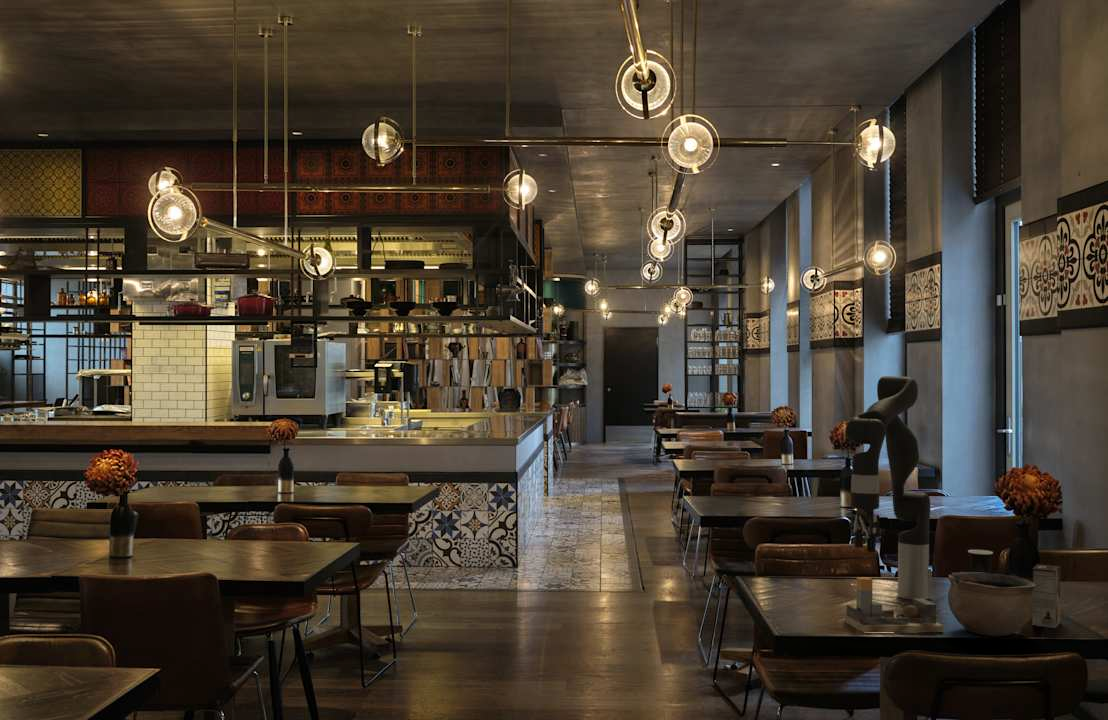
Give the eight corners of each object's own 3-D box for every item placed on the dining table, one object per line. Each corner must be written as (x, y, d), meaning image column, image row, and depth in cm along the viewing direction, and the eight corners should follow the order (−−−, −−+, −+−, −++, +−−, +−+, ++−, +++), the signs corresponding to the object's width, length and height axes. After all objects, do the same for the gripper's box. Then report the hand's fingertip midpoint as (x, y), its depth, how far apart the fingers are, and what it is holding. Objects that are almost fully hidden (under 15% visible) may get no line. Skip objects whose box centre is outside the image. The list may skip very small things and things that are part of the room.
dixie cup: (974, 586, 347) (974, 553, 348) (963, 581, 355) (963, 549, 355) (997, 586, 348) (997, 553, 348) (985, 581, 356) (985, 549, 356)
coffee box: (1036, 619, 298) (1036, 563, 298) (1060, 622, 294) (1060, 565, 295) (1031, 625, 290) (1031, 568, 290) (1056, 628, 287) (1057, 570, 287)
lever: (873, 616, 289) (874, 575, 289) (884, 621, 282) (885, 580, 282) (853, 616, 288) (853, 575, 288) (863, 622, 281) (863, 580, 281)
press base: (919, 621, 294) (919, 596, 294) (943, 632, 280) (943, 606, 280) (845, 621, 291) (845, 596, 292) (864, 633, 277) (865, 607, 278)
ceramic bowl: (938, 622, 292) (938, 569, 292) (1017, 625, 290) (1018, 571, 290) (961, 642, 270) (961, 584, 270) (1048, 645, 268) (1048, 586, 268)
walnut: (914, 618, 288) (914, 603, 288) (920, 621, 284) (920, 606, 284) (900, 618, 288) (900, 603, 288) (906, 621, 284) (906, 606, 284)
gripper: (889, 493, 279) (888, 554, 279) (867, 488, 293) (867, 545, 293) (862, 493, 278) (861, 554, 278) (842, 488, 292) (841, 545, 292)
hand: (864, 549), depth 285 cm, fingers open, 8 cm apart
